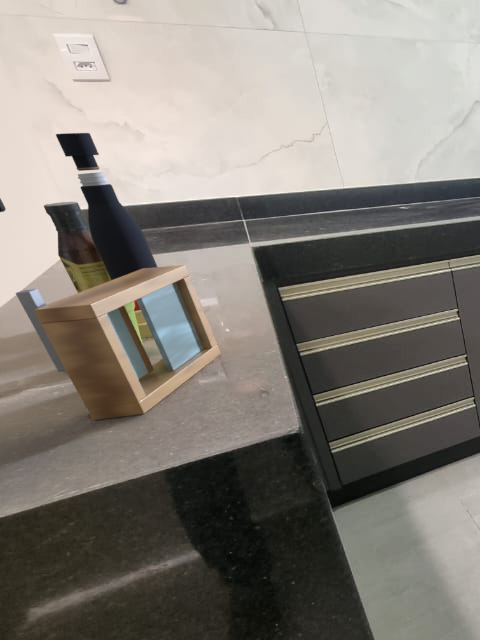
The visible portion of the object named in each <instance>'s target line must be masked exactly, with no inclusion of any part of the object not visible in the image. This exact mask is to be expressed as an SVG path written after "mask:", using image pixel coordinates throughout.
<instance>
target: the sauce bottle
mask: <svg viewBox="0 0 480 640" xmlns="http://www.w3.org/2000/svg"><path fill="white" fill-rule="evenodd" d="M43 208H44V210H45V212H46V214H47V215H48V216H49V217H50V219H51V221H52V223H53V225H54V227H55V231H56V232H57V255H58V257H59V259H60V261H61V264H62V265H63V267H64V269H65V271H66V273H67V274H68V277H69V279H70V281H71V283H72V285H73V287H74V289H75V290H76V293H80V292H82V291H85V290H87V289H90V288H93V287H95V286H98V285H101V284H103V283H106V282H109V281H111V278H110V276H109V274H108V272H107V270H106V267H105V265H104V263H103V261H102V259H101V257H100V255H99V252H98V250H97V248H96V246H95V244H94V242H93V240H92V236H91V232H90V228H89V224H87V222H86V220H85V218H84V216H83V214H82V208H81V206H80V204H79V203H78V202H77V201H61V202H54V203H46V204H44V205H43Z"/></svg>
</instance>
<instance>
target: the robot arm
mask: <svg viewBox="0 0 480 640" xmlns="http://www.w3.org/2000/svg"><path fill="white" fill-rule="evenodd" d="M5 211H6V206H5V205H4V202H3V201H2V199H1V198H0V213H3V212H5Z"/></svg>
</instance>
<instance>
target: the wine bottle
mask: <svg viewBox="0 0 480 640" xmlns="http://www.w3.org/2000/svg"><path fill="white" fill-rule="evenodd" d="M55 137H56V139H57V141H58V144H59V145H60V147H61V150H62V151H63V154H64V155H65V157H66V158H67V157H71V158H72V161H73V162H74V164H75V167H76V170H77V171H79V172H81V171H84V172H85V171H95V170H97V171H99V170H100V166H99V165H98V163H97V161H96V158H95V156H99V155H100V154H99V152H98V149H97V147H96V144H95V143H94V140H93V137H92V136H91V133H90V132H71V133H70V132H69V133H55ZM77 176H78V177H77V179H78V180H79V184H81V185H82V186H80V187H79V188H80V191H81V192H82V194H83V197H84V199H85V202H86V203H87V215H88V216H87V217H88V220H87V221H88V228H89V230H90V232H91V236H92V240H93V242H94V244H95V246H96V248H97V250H98V252H99V255H100V257H101V259H102V261H103V263H104V265H105V267H106V270H107V272H108V274H109V276H110V278H111V280H114V279H117V278H119V277H122V276H124V275H127V274H130V273H132V272H135V271H138V270H140V269H143V268H155V267H158V265H157V262H156V260H155V258H154V257H155V256H153V253H152V250H151V248H150V246H149V243H148V241H147V239H146V236H145V235H144V231H143V230H142V229H141V227H140V225H139V224H138V223H137V221H136V220H135V219H134V216H133V215H131V214H130V213H129V211H128V210H127V209H126V208H125V207H124V205H122V203H121V202H120V201H119V199H118V196H117V194H116V192H115V190H114V189H115V188H114V187H113V185H112V184H110V183H108V182H109V180H108V179H106V177H107V175H106V174H104V172H88V173H87V172H86V173H78V174H77Z"/></svg>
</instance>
